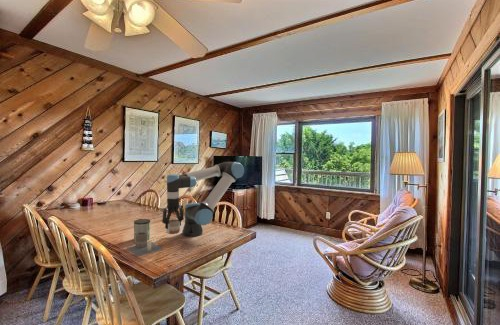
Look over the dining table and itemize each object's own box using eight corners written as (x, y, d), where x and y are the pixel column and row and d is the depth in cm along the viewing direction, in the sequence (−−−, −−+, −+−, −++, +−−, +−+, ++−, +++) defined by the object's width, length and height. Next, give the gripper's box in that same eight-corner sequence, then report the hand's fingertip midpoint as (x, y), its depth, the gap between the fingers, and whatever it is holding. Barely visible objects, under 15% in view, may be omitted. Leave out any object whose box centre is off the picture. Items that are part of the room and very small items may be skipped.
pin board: (151, 243, 171) (152, 233, 170) (164, 251, 158) (164, 240, 157) (126, 249, 160) (126, 238, 159) (137, 258, 147) (137, 246, 146)
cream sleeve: (175, 230, 176) (175, 218, 176) (180, 232, 171) (180, 220, 171) (166, 232, 171) (166, 220, 171) (171, 234, 166) (170, 222, 166)
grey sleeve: (141, 243, 167) (141, 231, 167) (149, 245, 165) (149, 232, 164) (133, 246, 161) (133, 234, 161) (141, 248, 158) (141, 235, 158)
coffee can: (131, 240, 175) (131, 220, 175) (146, 237, 182) (147, 218, 182) (136, 245, 168) (136, 223, 167) (152, 241, 175) (152, 221, 174)
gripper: (183, 195, 180) (183, 227, 181) (156, 198, 166) (156, 234, 167) (189, 196, 174) (189, 230, 175) (161, 200, 160) (161, 236, 162)
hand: (173, 231), depth 171 cm, fingers closed on cream sleeve, 7 cm apart
